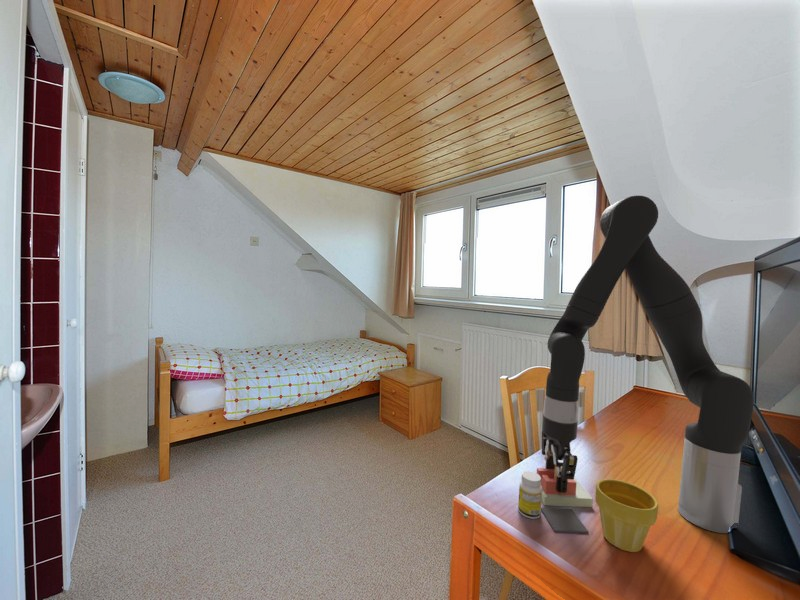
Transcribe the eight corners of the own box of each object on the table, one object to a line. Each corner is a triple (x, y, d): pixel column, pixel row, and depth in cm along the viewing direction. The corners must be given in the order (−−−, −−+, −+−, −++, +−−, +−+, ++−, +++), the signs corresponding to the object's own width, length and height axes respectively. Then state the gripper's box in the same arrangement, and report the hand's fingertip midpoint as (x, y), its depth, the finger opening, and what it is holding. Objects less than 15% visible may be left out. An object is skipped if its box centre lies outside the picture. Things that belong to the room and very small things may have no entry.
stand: (574, 486, 88) (576, 459, 87) (592, 507, 80) (594, 477, 79) (531, 484, 88) (533, 457, 87) (544, 505, 80) (546, 475, 79)
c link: (564, 480, 86) (565, 469, 86) (575, 495, 81) (576, 482, 81) (536, 479, 86) (537, 468, 86) (545, 493, 81) (546, 481, 81)
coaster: (571, 510, 78) (571, 508, 78) (588, 533, 71) (588, 531, 71) (540, 509, 78) (540, 507, 78) (554, 532, 71) (554, 530, 71)
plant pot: (629, 521, 75) (633, 478, 75) (667, 560, 65) (672, 510, 64) (582, 521, 75) (586, 477, 74) (613, 560, 65) (617, 509, 64)
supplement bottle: (522, 502, 81) (524, 467, 80) (543, 511, 78) (546, 475, 77) (514, 512, 77) (517, 476, 76) (536, 522, 74) (539, 484, 73)
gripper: (592, 429, 75) (586, 504, 76) (562, 405, 90) (557, 468, 91) (558, 427, 75) (552, 502, 76) (533, 403, 90) (528, 467, 91)
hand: (555, 483), depth 84 cm, fingers closed on c link, 5 cm apart
